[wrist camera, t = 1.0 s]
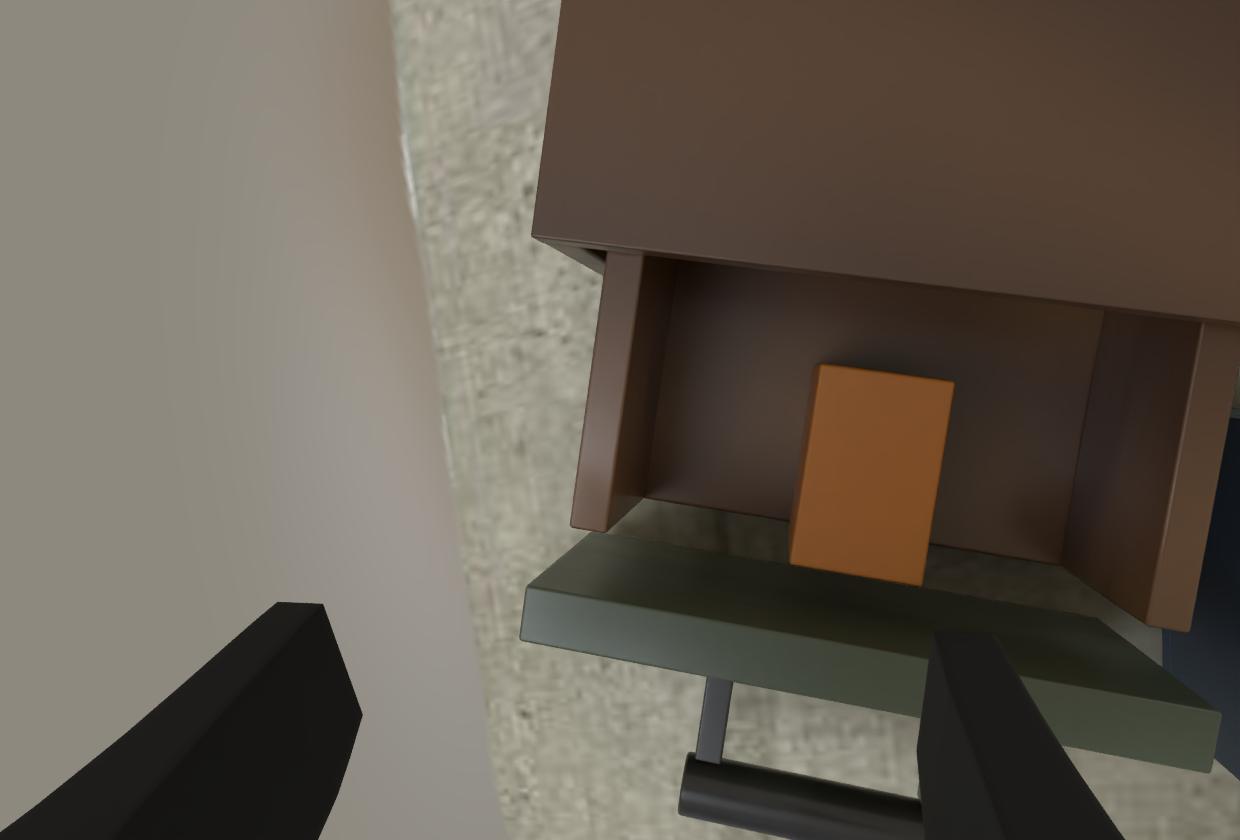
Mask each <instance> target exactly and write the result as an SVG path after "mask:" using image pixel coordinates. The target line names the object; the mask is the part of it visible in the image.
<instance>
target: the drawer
mask: <svg viewBox="0 0 1240 840" xmlns="http://www.w3.org/2000/svg"><path fill="white" fill-rule="evenodd" d="M822 363H828V364H835V365H842V366H850V367H857V368H864V369H872V370H879V371H887V372H894V373H901V374H909V375H916V376H923V377H931V378H938V379H945V380H952V381H954V382H955V389H954V395H953V401H952V408H951V414H950V420H949V426H948V432H947V438H946V444H945V450H944V456H943V462H942V468H941V474H940V480H939V486H938V493H937V499H936V505H935V511H934V517H933V523H932V529H931V535H930V541H929V545H932V546H939V547H945V548H951V549H957V550H963V551H969V552H975V553H981V554H987V555H993V556H1000V557H1006V558H1012V559H1018V560H1024V561H1030V562H1036V563H1042V564H1048V565H1054V566H1061V567H1062V568H1063V569H1065V570H1066V571H1068V572H1069V573H1071V574H1072V575H1074V576H1075V577H1077V578H1078V579H1080V580H1081V581H1082V582H1084V583H1085V584H1087V585H1088V586H1090V587H1091V588H1093V589H1094V590H1096V591H1097V592H1099V593H1100V594H1101V595H1103V596H1104V597H1106V598H1107V599H1109V600H1110V601H1112V602H1113V603H1115V604H1116V605H1118V606H1119V607H1121V608H1122V609H1123V610H1125V611H1126V612H1128V613H1129V614H1131V615H1132V616H1134V617H1135V618H1137V619H1138V620H1140V621H1141V622H1142V623H1144V624H1145V625H1147V626H1150V627H1156V628H1162V629H1168V630H1173V631H1179V632H1189V631H1190V627H1191V622H1192V617H1193V611H1194V606H1195V601H1196V595H1197V590H1198V585H1199V579H1200V574H1201V568H1202V563H1203V558H1204V552H1205V547H1206V542H1207V536H1208V531H1209V526H1210V520H1211V515H1212V510H1213V504H1214V499H1215V493H1216V488H1217V483H1218V477H1219V472H1220V467H1221V461H1222V456H1223V451H1224V445H1225V440H1226V434H1227V429H1228V424H1229V418H1230V413H1231V408H1232V402H1233V397H1234V392H1235V386H1236V381H1237V376H1238V370H1239V365H1240V327H1235V326H1226V325H1218V324H1210V323H1202V322H1193V321H1185V320H1177V319H1168V318H1160V317H1152V316H1144V315H1135V314H1127V313H1119V312H1111V311H1102V310H1094V309H1086V308H1078V307H1069V306H1061V305H1053V304H1045V303H1036V302H1028V301H1020V300H1011V299H1003V298H995V297H987V296H978V295H970V294H962V293H954V292H945V291H937V290H929V289H921V288H912V287H904V286H896V285H887V284H879V283H871V282H863V281H854V280H846V279H838V278H830V277H821V276H813V275H805V274H797V273H788V272H780V271H772V270H763V269H755V268H747V267H739V266H730V265H722V264H714V263H706V262H697V261H689V260H681V259H673V258H664V257H656V256H648V255H639V254H631V253H623V252H615V251H607V255H606V262H605V269H604V277H603V284H602V291H601V299H600V306H599V313H598V321H597V328H596V335H595V343H594V350H593V358H592V365H591V372H590V380H589V387H588V394H587V402H586V409H585V416H584V424H583V431H582V439H581V446H580V453H579V461H578V468H577V475H576V483H575V490H574V497H573V505H572V512H571V519H570V526H571V527H572V528H577V529H583V530H589V531H595V532H590V533H589V534H588V535H587V536H586V537H585V538H583V539H582V540H581V541H580V542H579V543H577V544H576V545H575V546H574V547H573V548H571V549H570V550H569V551H568V552H567V553H565V554H564V555H563V556H562V557H561V558H559V559H558V560H557V561H556V562H555V563H553V564H552V565H551V566H550V567H549V568H547V569H546V570H545V571H544V572H543V573H542V574H540V575H539V576H538V577H537V578H536V579H534V580H533V581H532V582H531V583H530V584H528V585H527V587H526V591H525V599H524V606H523V614H522V621H521V629H520V636H519V638H520V640H521V641H525V642H530V643H535V644H540V645H545V646H550V647H556V648H561V649H566V650H571V651H576V652H582V653H587V654H592V655H597V656H602V657H607V658H613V659H618V660H623V661H628V662H633V663H638V664H644V665H649V666H654V667H659V668H664V669H670V670H675V671H680V672H685V673H690V674H695V675H701V676H706V677H707V680H706V687H705V693H704V700H703V707H702V714H701V720H700V727H699V734H698V740H697V747H696V753H695V752H688V754H687V757H686V762H685V767H684V772H683V778H682V784H681V791H680V797H679V805H678V814H679V815H681V816H686V817H691V818H695V819H700V820H704V821H709V822H713V823H718V824H723V825H727V826H732V827H736V828H741V829H746V830H750V831H755V832H759V833H764V834H768V835H773V836H778V837H782V838H787V839H791V840H925V836H924V825H923V815H922V805H921V795H920V783H919V787H918V793H917V794H918V798H919V799H918V798H913V797H908V796H903V795H898V794H893V793H889V792H884V791H879V790H874V789H869V788H864V787H860V786H855V785H850V784H845V783H840V782H835V781H831V780H826V779H821V778H816V777H811V776H806V775H802V774H797V773H792V772H787V771H782V770H777V769H773V768H768V767H763V766H758V765H753V764H748V763H744V762H739V761H734V760H729V759H724V758H722V754H723V747H724V741H725V734H726V727H727V721H728V714H729V707H730V701H731V694H732V687H733V682H737V683H742V684H747V685H752V686H757V687H763V688H768V689H773V690H778V691H783V692H789V693H794V694H799V695H804V696H809V697H814V698H820V699H825V700H830V701H835V702H840V703H845V704H851V705H856V706H861V707H866V708H871V709H877V710H882V711H887V712H892V713H897V714H902V715H908V716H913V717H918V718H921V714H922V706H923V699H924V692H925V684H926V677H927V669H928V662H929V654H930V647H931V639H932V632H933V630H938V631H961V632H984V633H992V634H993V635H994V636H995V637H996V638H997V639H998V640H999V641H1000V642H1001V644H1002V646H1003V647H1004V649H1005V651H1006V653H1007V655H1008V657H1009V659H1010V661H1011V662H1012V664H1013V666H1014V668H1015V670H1016V671H1017V673H1018V675H1019V677H1020V678H1021V680H1022V682H1023V684H1024V685H1025V687H1026V689H1027V691H1028V692H1029V694H1030V696H1031V697H1032V699H1033V701H1034V702H1035V704H1036V706H1037V707H1038V709H1039V711H1040V712H1041V714H1042V716H1043V717H1044V719H1045V720H1046V722H1047V724H1048V725H1049V727H1050V728H1051V730H1052V732H1053V733H1054V735H1055V737H1056V738H1057V740H1058V741H1059V743H1060V745H1063V746H1068V747H1073V748H1078V749H1084V750H1089V751H1094V752H1099V753H1104V754H1109V755H1115V756H1120V757H1125V758H1130V759H1135V760H1140V761H1146V762H1151V763H1156V764H1161V765H1166V766H1172V767H1177V768H1182V769H1187V770H1192V771H1197V772H1203V773H1210V772H1211V769H1212V764H1213V759H1214V754H1215V748H1216V743H1217V738H1218V733H1219V727H1220V722H1221V717H1222V714H1221V712H1220V711H1218V710H1217V709H1216V708H1214V707H1213V706H1212V705H1211V704H1209V703H1208V702H1207V701H1205V700H1204V699H1203V698H1201V697H1200V696H1199V695H1197V694H1196V693H1195V692H1194V691H1192V690H1191V689H1190V688H1188V687H1187V686H1186V685H1184V684H1183V683H1182V682H1180V681H1179V680H1178V679H1177V678H1175V677H1174V676H1173V675H1171V674H1170V673H1169V672H1167V671H1166V670H1165V669H1163V668H1162V667H1161V666H1160V665H1158V664H1157V663H1156V662H1154V661H1153V660H1152V659H1150V658H1149V657H1148V656H1147V655H1145V654H1144V653H1143V652H1141V651H1140V650H1139V649H1137V648H1136V647H1135V646H1133V645H1132V644H1131V643H1130V642H1128V641H1127V640H1126V639H1124V638H1123V637H1122V636H1120V635H1119V634H1118V633H1116V632H1115V631H1114V630H1113V629H1111V628H1110V627H1109V626H1107V625H1106V624H1105V623H1103V622H1102V621H1101V620H1099V619H1098V618H1095V617H1089V616H1083V615H1077V614H1072V613H1066V612H1060V611H1054V610H1048V609H1042V608H1037V607H1031V606H1025V605H1019V604H1013V603H1007V602H1002V601H996V600H990V599H984V598H978V597H972V596H966V595H961V594H955V593H949V592H943V591H937V590H931V589H926V588H920V587H914V586H908V585H902V584H896V583H891V582H885V581H879V580H873V579H867V578H861V577H856V576H850V575H844V574H838V573H832V572H826V571H821V570H815V569H809V568H803V567H797V566H791V565H786V564H780V563H774V562H768V561H762V560H756V559H750V558H745V557H739V556H733V555H727V554H721V553H715V552H710V551H704V550H698V549H692V548H686V547H680V546H675V545H669V544H663V543H657V542H651V541H645V540H640V539H634V538H628V537H622V536H616V535H610V534H605V533H606V532H607V531H608V530H609V529H610V528H612V527H613V526H614V525H615V524H616V523H617V522H618V521H619V520H620V519H621V518H623V517H624V516H625V515H626V514H627V513H628V512H629V511H630V510H631V509H632V508H633V507H635V506H636V505H637V504H638V503H639V502H640V501H641V500H642V499H643V498H646V499H652V500H658V501H664V502H670V503H676V504H682V505H688V506H694V507H701V508H707V509H713V510H719V511H725V512H731V513H737V514H743V515H749V516H755V517H762V518H768V519H774V520H780V521H786V522H789V520H790V513H791V507H792V500H793V494H794V487H795V481H796V474H797V468H798V461H799V455H800V448H801V442H802V435H803V429H804V422H805V416H806V409H807V403H808V396H809V390H810V383H811V376H812V370H813V367H814V365H818V364H822ZM599 532H601V533H599Z"/></svg>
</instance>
